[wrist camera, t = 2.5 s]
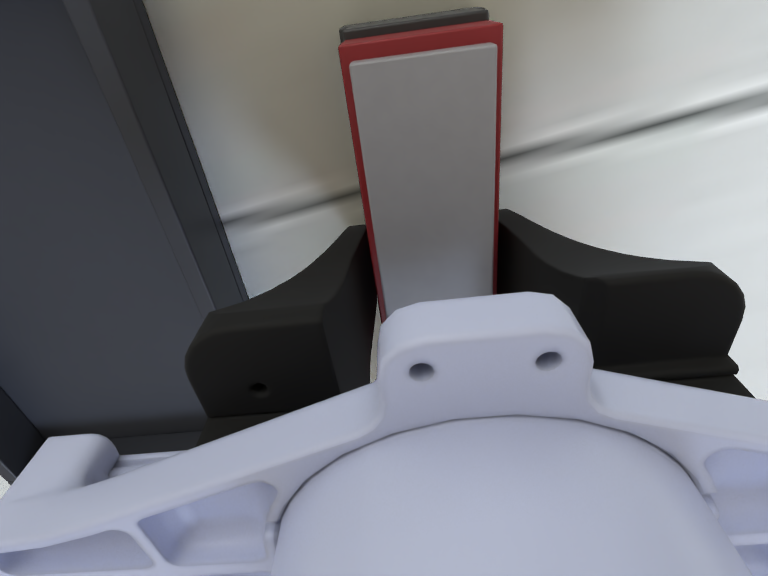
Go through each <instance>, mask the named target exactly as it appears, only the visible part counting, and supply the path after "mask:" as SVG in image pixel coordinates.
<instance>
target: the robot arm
mask: <svg viewBox="0 0 768 576" xmlns="http://www.w3.org/2000/svg"><path fill="white" fill-rule="evenodd" d="M376 307H377V292H376V285H375V279H374V273H373V266H372V260H371V254H370V247H369V241H368V234H367V228H366V225H357V226H349V227H348V228H347V229H346V230H345V231H344V232H343V233H342V234H341V235H340V236H339V237H338V238H337V240H336V241H335V242H334V243H333V244H332V245H331V246H330V247H329V248H328V249H327V250H326V251H325V252H324V253H323V254H322V255H320V256H319V257H318V258H317V259H316V260H315V261H314V262H313V263H312V264H310V265H309V266H308V267H307V268H305V269H304V270H303V271H301V272H300V273H298V274H297V275H295V276H294V277H293V278H291V279H289V280H288V281H286V282H284V283H282V284H280V285H279V286H277V287H275V288H273V289H271V290H269V291H267V292H265V293H263V294H261V295H258V296H256V297H254V298H251V299H249V300H246V301H243V302H241V303H238V304H235V305H231V306H228V307H225V308H222V309H218V310H215V311H211V312H209V313H208V315H207V316H206V318H205V320H204V321H203V323H202V325H201V326H200V328H199V330H198V332H197V334H196V335H195V337H194V339H193V341H192V342H191V344H190V346H189V348H188V350H187V353H186V355H185V365H184V368H185V371H186V374H187V377H188V380H189V382H190V384H191V386H192V388H193V390H194V392H195V394H196V396H197V398H198V400H199V402H200V404H201V405H202V407H203V409H204V411H205V413H206V415H207V417H208V419H207V421H206V423H205V426H204V428H203V430H202V433H201V435H200V437H199V440H198V442H197V444H196V447H195V448H192V449H189V450H184V451H171V452H158V453H145V454H132V455H119V453H118V451H117V449H116V447H115V446H114V444H113V443H112V441H110V440H109V439H108V438H107V437H105V436H102V435H100V434H92V433H91V434H79V435H66V436H54V437H49V438H48V439H47V440H46V441H45V442H44V444H43V445H42V446H41V448H40V449H39V450H38V452H37V453H36V454H35V455H34V457H33V458H32V459H31V461H30V462H29V463H28V464H27V466H26V467H25V468H24V470H23V471H22V472H21V473H20V475H19V476H18V477H17V479H16V480H15V481H14V482H13V484H12V485H11V486H10V488H9V489H8V490H7V492H6V493H5V494H4V495H3V497H2V498H1V499H0V576H768V401H766V400H761V399H756V398H755V397H754V396H753V395H752V394H751V393H750V392H749V391H748V390H747V389H746V388H745V387H744V385H743V384H742V383H741V382H740V381H739V380H738V379H737V378H736V377H735V376H734V375H733V374H737V373H738V371H739V368H738V365H737V364H736V363H735V362H734V361H733V360H732V359H731V358H730V357H729V356H728V353H729V350H730V348H731V345H732V343H733V341H734V338H735V336H736V333H737V331H738V329H739V326H740V324H741V321H742V318H743V314H744V310H745V300H744V294H743V292H742V291H741V289H740V287H739V286H738V284H737V283H736V282H734V281H733V280H732V279H731V278H729V277H728V276H727V275H726V274H725V273H723V272H722V271H721V270H720V269H718V268H717V267H716V266H715V265H713V264H712V263H711V262H695V261H676V260H663V259H654V258H646V257H639V256H633V255H627V254H622V253H617V252H613V251H608V250H604V249H600V248H596V247H593V246H590V245H587V244H583V243H580V242H577V241H574V240H572V239H569V238H567V237H564V236H562V235H559V234H557V233H555V232H552V231H550V230H548V229H546V228H544V227H542V226H540V225H538V224H536V223H534V222H532V221H530V220H528V219H526V218H525V217H523V216H521V215H519V214H517V213H515V212H513V211H511V210H508V209H502V210H499V218H498V258H497V295H487V296H477V297H467V298H457V299H446V300H436V301H426V302H418V303H415V304H412V305H409V306H406V307H403V308H400V309H397V310H395V311H394V312H393V313H392V314H391V315H390V316H389V317H388V318H387V319H386V320H385V321H384V322H383V323H382V324H381V327H380V333H379V338H378V347H377V379H376V380H375V381H374V382H373V383H370V359H371V349H372V340H373V332H374V324H375V316H376Z"/></svg>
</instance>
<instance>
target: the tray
mask: <svg viewBox="0 0 768 576" xmlns="http://www.w3.org/2000/svg"><path fill="white" fill-rule="evenodd" d="M246 300H248V297H247V294H246V291H245V288H244V286H243V283H242V280H241V277H240V274H239V272H238V269H237V266H236V263H235V260H234V257H233V255H232V252H231V249H230V246H229V243H228V241H227V238H226V235H225V232H224V229H223V227H222V224H221V221H220V218H219V215H218V213H217V210H216V207H215V204H214V201H213V199H212V196H211V193H210V190H209V187H208V185H207V182H206V179H205V176H204V173H203V171H202V168H201V165H200V162H199V159H198V157H197V154H196V151H195V148H194V145H193V143H192V140H191V137H190V134H189V131H188V129H187V126H186V123H185V120H184V117H183V115H182V112H181V109H180V106H179V103H178V101H177V98H176V95H175V92H174V89H173V86H172V84H171V81H170V78H169V75H168V72H167V70H166V67H165V64H164V61H163V58H162V56H161V53H160V50H159V47H158V44H157V42H156V39H155V36H154V33H153V30H152V28H151V25H150V22H149V19H148V16H147V14H146V11H145V8H144V5H143V2H142V0H0V475H1V476H2V477H3V478H4V479H5V480H6V481H8V483H9V484H10V485H12V484H13V482H14V481H15V480H16V479H17V477H18V476H19V475H20V473H21V472H22V471H23V470H24V468H25V467H26V466H27V464H28V463H29V462H30V461H31V459H32V458H33V457H34V455H35V454H36V453H37V452H38V450H39V449H40V448H41V446H42V445H43V444H44V442H45V441H46V440H47V439H48V438H49V437H54V436H66V435H79V434H91V433H92V434H100V435H102V436H105V437H107V438H108V439H109V440H110V441H112V443H113V444H114V446H115V447H116V449H117V451H118V453H119V455H132V454H145V453H158V452H171V451H184V450H189V449H192V448H195V447H196V444H197V442H198V440H199V437H200V435H201V433H202V430H203V428H204V426H205V423H206V421H207V419H208V417H207V415H206V413H205V411H204V409H203V407H202V405H201V404H200V402H199V400H198V398H197V396H196V394H195V392H194V390H193V388H192V386H191V384H190V382H189V380H188V377H187V374H186V371H185V368H184V365H185V355H186V353H187V350H188V348H189V346H190V344H191V342H192V341H193V339H194V337H195V335H196V334H197V332H198V330H199V328H200V326H201V325H202V323H203V321H204V320H205V318H206V316H207V315H208V313H209V312H211V311H215V310H218V309H222V308H225V307H228V306H231V305H235V304H238V303H241V302H243V301H246Z"/></svg>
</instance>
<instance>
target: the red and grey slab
mask: <svg viewBox="0 0 768 576" xmlns="http://www.w3.org/2000/svg"><path fill="white" fill-rule="evenodd" d="M339 33H340V39H341V44H340V45H339V47H338V50H339V57H340V63H341V69H342V76H343V82H344V89H345V95H346V101H347V108H348V114H349V120H350V127H351V133H352V139H353V146H354V152H355V158H356V165H357V171H358V177H359V184H360V190H361V196H362V203H363V209H364V215H365V222H366V228H367V234H368V241H369V247H370V254H371V260H372V266H373V273H374V279H375V285H376V292H377V298H378V304H379V311H380V317H381V323H383V322H384V321H385V320H386V319H387V318H388V317H389V316H390V315H391V314H392V313H393V312H394V311H395V310H397V309H400V308H403V307H406V306H409V305H412V304H415V303H418V302H426V301H436V300H446V299H457V298H467V297H477V296H487V295H497V258H498V218H499V177H500V137H501V96H502V56H503V23H500V22H494V21H489V12H488V10H486V9H485V8H482V7H473V8H466V9H459V10H452V11H445V12H438V13H431V14H424V15H417V16H410V17H403V18H396V19H389V20H382V21H375V22H368V23H361V24H354V25H347V26H343V27H342V28H340V30H339Z"/></svg>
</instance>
